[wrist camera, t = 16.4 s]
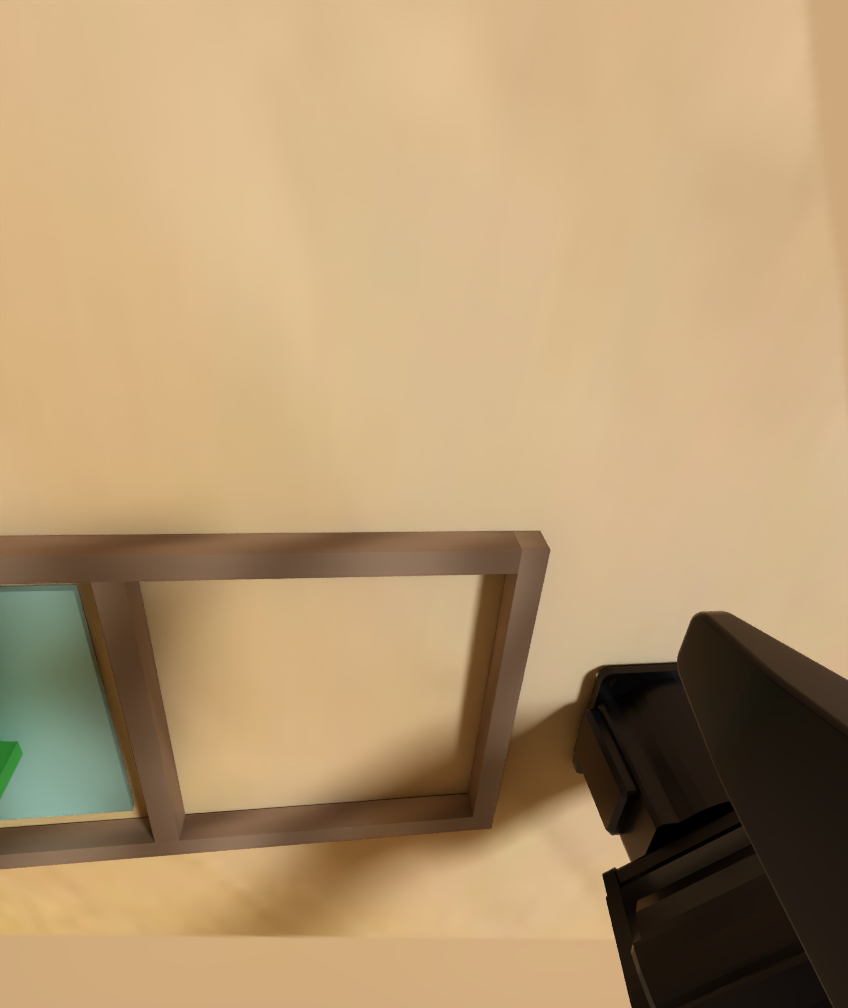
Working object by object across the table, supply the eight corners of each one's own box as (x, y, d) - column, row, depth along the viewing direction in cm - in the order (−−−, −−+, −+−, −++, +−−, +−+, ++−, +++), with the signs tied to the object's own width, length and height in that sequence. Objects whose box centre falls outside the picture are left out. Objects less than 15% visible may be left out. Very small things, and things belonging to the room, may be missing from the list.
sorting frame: (540, 530, 22) (550, 549, 21) (485, 804, 30) (491, 828, 29) (-417, 540, 18) (-463, 564, 17) (-185, 856, 26) (-207, 886, 25)
